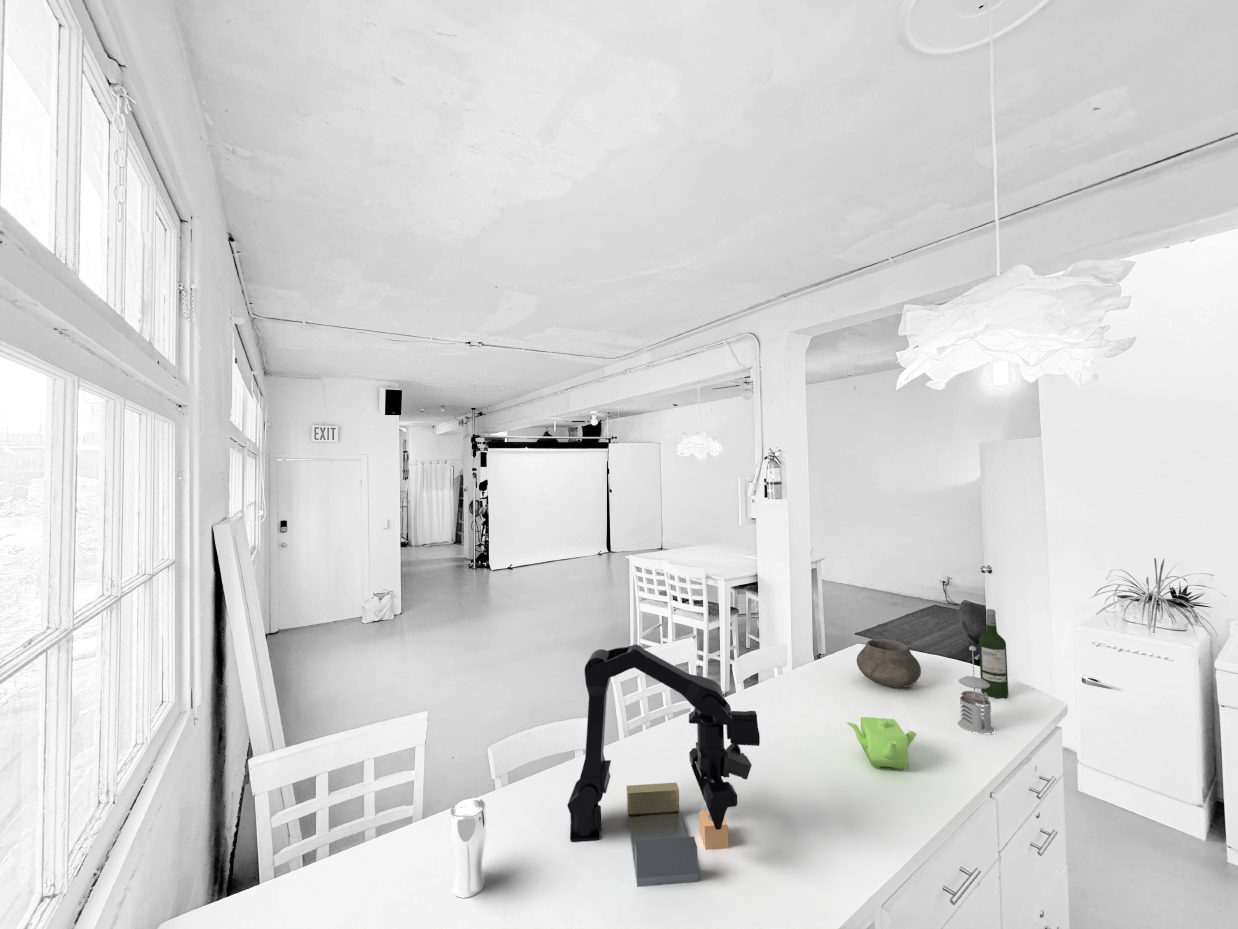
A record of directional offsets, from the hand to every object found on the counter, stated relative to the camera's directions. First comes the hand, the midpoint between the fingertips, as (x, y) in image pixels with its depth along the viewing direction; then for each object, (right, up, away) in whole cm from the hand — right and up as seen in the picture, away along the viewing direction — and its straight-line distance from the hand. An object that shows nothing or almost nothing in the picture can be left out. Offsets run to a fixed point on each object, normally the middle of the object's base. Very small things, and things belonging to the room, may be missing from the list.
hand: (712, 815), depth 113 cm
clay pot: (+82, -7, +84) cm, 118 cm away
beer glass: (-50, -6, -12) cm, 52 cm away
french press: (+91, -6, +47) cm, 103 cm away
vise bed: (-12, -6, -1) cm, 13 cm away
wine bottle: (+114, -6, +72) cm, 135 cm away
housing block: (0, -6, 0) cm, 6 cm away
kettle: (+52, -6, +30) cm, 60 cm away
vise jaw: (-12, -4, +8) cm, 16 cm away
